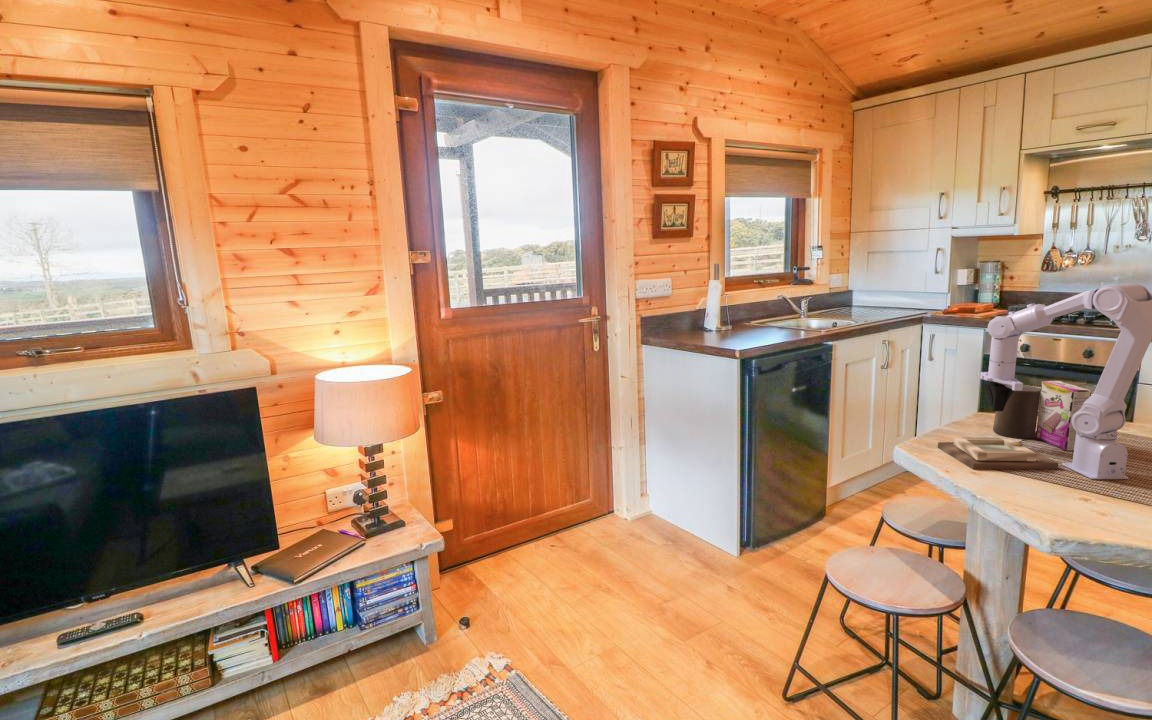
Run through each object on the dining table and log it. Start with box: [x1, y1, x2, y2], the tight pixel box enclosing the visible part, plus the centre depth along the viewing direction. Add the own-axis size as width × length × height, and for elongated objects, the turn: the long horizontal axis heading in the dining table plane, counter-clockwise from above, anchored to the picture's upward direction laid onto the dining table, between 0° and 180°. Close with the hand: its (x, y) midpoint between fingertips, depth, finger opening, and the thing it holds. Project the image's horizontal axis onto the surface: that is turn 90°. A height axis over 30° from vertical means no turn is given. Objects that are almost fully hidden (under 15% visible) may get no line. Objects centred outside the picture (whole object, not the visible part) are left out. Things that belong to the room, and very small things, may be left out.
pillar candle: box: [992, 384, 1041, 440], centre depth 166 cm, size 10×10×15 cm
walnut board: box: [937, 441, 1059, 470], centre depth 149 cm, size 16×20×2 cm
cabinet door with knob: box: [952, 436, 1038, 461], centre depth 148 cm, size 12×13×2 cm
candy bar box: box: [1035, 380, 1093, 452], centre depth 156 cm, size 11×5×16 cm, turn 178°
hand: (997, 410), depth 157 cm, fingers closed
